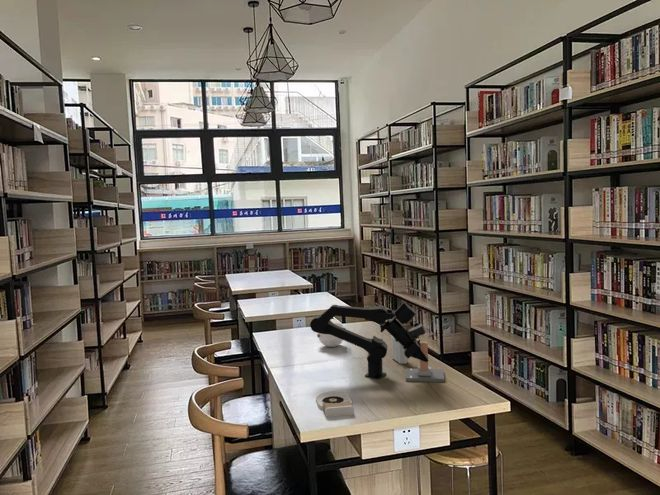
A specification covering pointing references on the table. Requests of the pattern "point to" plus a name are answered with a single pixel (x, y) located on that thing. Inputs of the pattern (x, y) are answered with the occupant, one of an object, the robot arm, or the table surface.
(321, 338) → the white piece
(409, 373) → the track board
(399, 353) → the photo printer
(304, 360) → the table surface
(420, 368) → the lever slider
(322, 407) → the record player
